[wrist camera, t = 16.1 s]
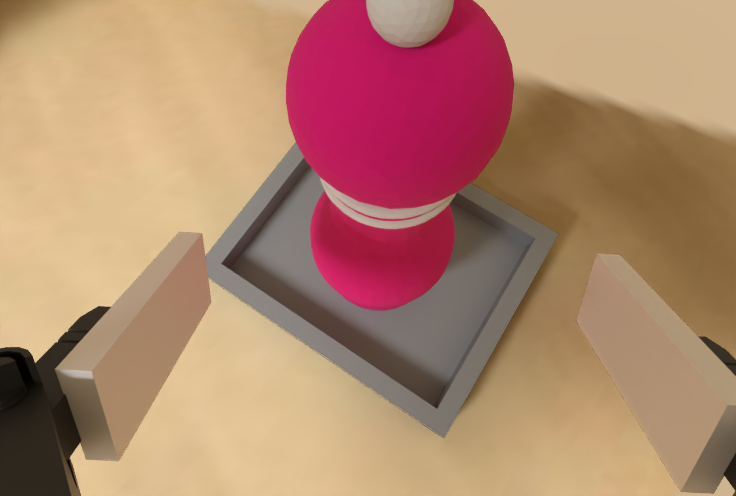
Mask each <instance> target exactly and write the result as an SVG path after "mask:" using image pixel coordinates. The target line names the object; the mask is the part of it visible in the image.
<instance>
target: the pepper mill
mask: <svg viewBox="0 0 736 496" xmlns="http://www.w3.org/2000/svg"><path fill="white" fill-rule="evenodd" d="M513 89H514V79H513V70H512V63H511V60H510V57H509V54H508V51H507V47H506V44H505V41H504V39H503V37H502V35H501V34H500V32H499V31H498V28H497V27H496V26H495V24H494V23H493V21H492V20H491V19H490V17H489V16H488V15H487V13H486V12H485V10H484V9H483V8H481V7H480V6H479V5H478V4H477V3H476V2H474V1H473V0H329V1H327V2H326V3H325V4H324V5H323V6H322V7H321V8H320V9H319V10H318V11H317V12H316V13H315V14H314V16H313V17H312V18H311V20H310V21H309V22H308V24H307V25H306V27H305V28H304V30H303V31H302V33H301V34H300V36H299V38H298V40H297V43H296V45H295V47H294V50H293V52H292V54H291V58H290V62H289V66H288V73H287V82H286V105H287V111H288V117H289V123H290V126H291V129H292V132H293V135H294V138H295V140H296V143H297V145H298V147H299V149H300V151H301V152H302V154H303V156H304V158H305V160H306V162H307V163H308V164H309V165H310V166H311V168H312V169H313V170H314V171H315V172H316V173H317V174H318V175H319V177H320V180H321V183H322V185H323V188H324V190H325V191H324V192H323V194H322V195H321V197H320V198H319V200H318V202H317V204H316V206H315V209H314V212H313V215H312V218H311V226H310V238H311V249H312V253H313V258H314V261H315V263H316V265H317V268H318V270H319V271H320V273H321V275H322V276H323V278H324V279H325V280H326V281H327V282H328V284H329V285H330V286H331V287H332V288H333V289H335V290H336V291H337V292H338V293H340V294H341V295H342V296H343V297H344V298H345V299H346V300H348V301H349V302H351V303H353V304H354V305H357V306H359V307H361V308H364V309H369V310H374V311H386V310H391V309H395V308H398V307H400V306H403V305H405V304H407V303H408V302H411V301H413V300H415V299H417V298H419V297H421V296H422V295H423V294H425V293H426V292H428V291H429V290H430V289H431V288H432V287H433V286H434V285H435V284H436V283H437V282H438V281H439V279H440V278H441V276H442V275H443V273H444V272H445V270H446V267H447V265H448V263H449V261H450V258H451V254H452V251H453V246H454V241H455V226H454V220H453V215H452V210H451V207H450V202H451V201H452V200H453V198H454V197H455V195H456V193H457V192H458V191H460V190H461V189H462V188H464V187H465V186H466V185H468V184H469V183H470V182H472V181H473V180H474V179H476V178H477V177H478V175H479V174H480V173H481V172H482V170H483V169H484V168H485V166H486V165H487V164H488V162H489V161H490V159H491V158H492V157H493V155H494V154H495V152H496V151H497V150H498V148H499V147H500V144H501V142H502V139H503V136H504V134H505V131H506V129H507V126H508V124H509V120H510V115H511V111H512V100H513Z"/></svg>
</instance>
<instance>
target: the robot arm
mask: <svg viewBox="0 0 736 496" xmlns="http://www.w3.org/2000/svg"><path fill="white" fill-rule="evenodd" d="M210 303H211V296H210V288H209V281H208V273H207V266H206V258H205V251H204V243H203V236H202V233H191V232H179V233H178V234H177V235H176V236H175V237H174V238H173V239H172V240H171V242H170V243H169V244H168V245H167V246H166V247H165V248H164V249H163V250H162V251H161V253H160V254H159V255H158V256H157V257H156V258H155V259H154V260H153V261H152V263H151V264H150V265H149V266H148V267H147V268H146V269H145V270H144V271H143V272H142V274H141V275H140V276H139V277H138V278H137V279H136V280H135V281H134V282H133V284H132V285H131V286H130V287H129V288H128V289H127V290H126V291H125V292H124V293H123V295H122V296H121V297H120V298H119V299H118V300H117V301H116V302H115V303H114V304H113V306H112V307H102V306H98V307H97V308H95V309H93V310H92V311H90V312H88V313H86V314H85V315H83V316H81V317H80V318H79V319H78V320H77V321H76V322H75V323H74V324H73V325H72V326H71V327H70V328H69V329H68V332H65V333H64V334H63V335H62V336H61V337H60V339H59V340H58V343H57V342H56V343H55V344H54V345H53V346H52V347H51V348H50V349H49V350H48V351H47V352H46V353H45V354H44V355H43V356H42V357H41V358H40V359H39V360H38V361H37V362H36V363H35V362H34V359H33V356H32V355H31V353H30V352H29V351H28V350H26V349H23V348H20V347H5V348H1V349H0V496H81V494H80V490H79V486H78V483H77V479H76V475H75V472H74V468H73V465H72V462H71V459H70V456H71V455H72V453H73V452H74V450H75V449H76V448H77V446H78V445H79V443H81V446H82V449H83V452H84V455H85V458H86V460H104V461H119V460H120V458H121V456H122V455H123V453H124V451H125V450H126V448H127V446H128V444H129V443H130V441H131V439H132V438H133V436H134V434H135V432H136V431H137V429H138V427H139V425H140V424H141V422H142V420H143V419H144V417H145V415H146V413H147V412H148V410H149V408H150V407H151V405H152V403H153V401H154V400H155V398H156V396H157V395H158V393H159V391H160V389H161V388H162V386H163V384H164V383H165V381H166V379H167V377H168V376H169V374H170V372H171V371H172V369H173V367H174V365H175V364H176V362H177V360H178V358H179V357H180V355H181V353H182V352H183V350H184V348H185V346H186V345H187V343H188V341H189V340H190V338H191V336H192V334H193V333H194V331H195V329H196V328H197V326H198V324H199V322H200V321H201V319H202V317H203V316H204V314H205V312H206V310H207V309H208V307H209V305H210ZM576 322H577V324H578V325H579V327H580V328H581V330H582V332H583V333H584V335H585V337H586V338H587V340H588V342H589V343H590V345H591V346H592V348H593V350H594V351H595V353H596V355H597V356H598V358H599V359H600V361H601V363H602V364H603V366H604V368H605V369H606V371H607V373H608V374H609V376H610V377H611V379H612V381H613V382H614V384H615V386H616V387H617V389H618V391H619V392H620V394H621V395H622V397H623V399H624V400H625V402H626V404H627V405H628V407H629V408H630V410H631V412H632V413H633V415H634V417H635V418H636V420H637V422H638V423H639V425H640V426H641V428H642V430H643V431H644V433H645V435H646V436H647V438H648V439H649V441H650V443H651V444H652V446H653V448H654V449H655V451H656V453H657V454H658V456H659V457H660V459H661V461H662V462H663V464H664V466H665V467H666V469H667V471H668V472H669V474H670V475H671V477H672V479H673V480H674V482H675V484H676V485H677V487H678V488H679V490H680V492H692V493H710V494H713V493H714V492H715V491H716V489H717V487H718V485H719V484H720V482H721V480H722V479H723V477H724V476H725V477H726V478H727V480H728V481H729V483H730V484H731V485H732V487H733V488H734V489H735V493H734V494H733V496H736V360H735V359H734V358H733V357H732V356H731V355H730V354H729V353H728V352H727V351H726V350H725V349H724V348H722V347H721V346H719V345H718V344H716V343H715V342H713V341H711V340H710V339H708V338H707V337H698V336H697V335H696V334H695V333H694V332H693V331H692V330H691V329H690V328H689V327H688V326H687V325H686V324H685V322H684V321H683V320H682V319H681V318H680V317H679V316H678V315H677V314H676V313H675V312H674V311H673V310H672V309H671V308H670V307H669V306H668V305H667V304H666V303H665V301H664V300H663V299H662V298H661V297H660V296H659V295H658V294H657V293H656V292H655V291H654V290H653V289H652V288H651V287H650V286H649V285H648V284H647V283H646V282H645V281H644V279H643V278H642V277H641V276H640V275H639V274H638V273H637V272H636V271H635V270H634V269H633V268H632V267H631V266H630V265H629V264H628V263H627V262H626V261H625V260H624V258H623V257H622V256H621V255H619V254H600V253H597V254H596V257H595V260H594V263H593V267H592V270H591V273H590V277H589V280H588V283H587V287H586V290H585V293H584V296H583V300H582V303H581V306H580V310H579V313H578V316H577V319H576Z"/></svg>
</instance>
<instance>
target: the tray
mask: <svg viewBox="0 0 736 496" xmlns="http://www.w3.org/2000/svg"><path fill="white" fill-rule="evenodd" d="M324 191H325V190H324V188H323V185H322V183H321V180H320V177H319V175H318V174H317V173H316V172H315V171H314V170H313V169H312V168H311V166H310V165H309V164H308V163H307V162H306V160H305V158H304V156H303V154H302V152H301V151H300V149H299V147H298V145H297V143H295V144H294V145H293V146H292V148H291V149H290V150H289V151H288V153H287V154H286V155H285V157H284V158H283V159H282V160H281V162H280V163H279V164H278V165H277V167H276V168H275V169H274V170H273V172H272V173H271V174H270V175H269V177H268V178H267V179H266V180H265V182H264V183H263V184H262V185H261V187H260V188H259V189H258V191H257V192H256V193H255V194H254V196H253V197H252V198H251V199H250V201H249V202H248V203H247V204H246V206H245V207H244V208H243V209H242V211H241V212H240V213H239V214H238V216H237V217H236V218H235V220H234V221H233V222H232V223H231V225H230V226H229V227H228V228H227V230H226V231H225V232H224V233H223V235H222V236H221V237H220V238H219V240H218V241H217V242H216V243H215V245H214V246H213V247H212V249H211V250H210V251H209V252H208V254H207V255H206V256H205V258H206V266H207V273H208V278H209V279H210V280H212V281H213V282H215V283H216V284H218V285H219V286H221V287H222V288H223V289H225V290H226V291H228V292H229V293H231V294H232V295H234V296H235V297H237V298H238V299H240V300H241V301H242V302H244V303H245V304H247V305H248V306H250V307H251V308H253V309H254V310H256V311H257V312H259V313H260V314H262V315H263V316H264V317H266V318H267V319H269V320H270V321H272V322H273V323H275V324H276V325H278V326H279V327H281V328H282V329H284V330H285V331H286V332H288V333H289V334H291V335H292V336H294V337H295V338H297V339H298V340H300V341H301V342H303V343H304V344H305V345H307V346H308V347H310V348H311V349H313V350H314V351H316V352H317V353H319V354H320V355H322V356H323V357H325V358H326V359H327V360H329V361H330V362H332V363H333V364H335V365H336V366H338V367H339V368H341V369H342V370H344V371H345V372H347V373H348V374H349V375H351V376H352V377H354V378H355V379H357V380H358V381H360V382H361V383H363V384H364V385H366V386H367V387H368V388H370V389H371V390H373V391H374V392H376V393H377V394H379V395H380V396H382V397H383V398H385V399H386V400H388V401H389V402H390V403H392V404H393V405H395V406H396V407H398V408H399V409H401V410H402V411H404V412H405V413H407V414H408V415H410V416H411V417H412V418H414V419H415V420H417V421H418V422H420V423H421V424H423V425H424V426H426V427H427V428H429V429H430V430H431V431H433V432H434V433H436V434H438V435H439V436H441V437H443V438H444V437H445V436H446V434H447V432H448V430H449V429H450V427H451V425H452V423H453V421H454V420H455V418H456V416H457V414H458V413H459V411H460V409H461V407H462V405H463V404H464V402H465V400H466V398H467V396H468V395H469V393H470V391H471V389H472V388H473V386H474V384H475V382H476V380H477V379H478V377H479V375H480V373H481V372H482V370H483V368H484V366H485V364H486V363H487V361H488V359H489V357H490V356H491V354H492V352H493V350H494V348H495V347H496V345H497V343H498V341H499V339H500V338H501V336H502V334H503V332H504V331H505V329H506V327H507V325H508V323H509V322H510V320H511V318H512V316H513V315H514V313H515V311H516V309H517V307H518V306H519V304H520V302H521V300H522V299H523V297H524V295H525V293H526V291H527V290H528V288H529V286H530V284H531V282H532V281H533V279H534V277H535V275H536V274H537V272H538V270H539V268H540V266H541V265H542V263H543V261H544V259H545V258H546V256H547V254H548V252H549V250H550V249H551V247H552V245H553V243H554V242H555V240H556V238H557V236H558V234H559V233H557V232H555V231H553V230H552V229H550V228H548V227H546V226H545V225H543V224H541V223H540V222H538V221H536V220H534V219H533V218H531V217H529V216H527V215H526V214H524V213H522V212H521V211H519V210H517V209H515V208H514V207H512V206H510V205H508V204H507V203H505V202H503V201H502V200H500V199H498V198H496V197H495V196H493V195H491V194H489V193H488V192H486V191H484V190H482V189H481V188H479V187H477V186H476V185H474V184H472V183H469V184H468V185H466V186H465V187H464V188H462V189H461V190H460V191H458V192H457V193H456V195H455V197H454V198H453V200H452V201H451V202H450V207H451V210H452V215H453V220H454V226H455V241H454V246H453V251H452V254H451V258H450V261H449V263H448V265H447V267H446V270H445V272H444V273H443V275H442V276H441V278H440V279H439V281H438V282H437V283H436V284H435V285H434V286H433V287H432V288H431V289H430V290H429V291H428V292H426V293H425V294H423V295H422V296H421V297H419V298H417V299H415V300H413V301H411V302H408V303H407V304H405V305H403V306H400V307H398V308H395V309H391V310H386V311H374V310H369V309H364V308H361V307H359V306H357V305H354V304H353V303H351V302H349V301H348V300H346V299H345V298H344V297H343V296H342V295H341V294H340V293H338V292H337V291H336V290H335V289H333V288H332V287H331V286H330V285H329V284H328V282H327V281H326V280H325V279H324V278H323V276H322V275H321V273H320V271H319V270H318V268H317V265H316V263H315V261H314V258H313V253H312V249H311V238H310V226H311V218H312V215H313V212H314V209H315V206H316V204H317V202H318V200H319V198H320V197H321V195H322V194H323V192H324Z"/></svg>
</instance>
